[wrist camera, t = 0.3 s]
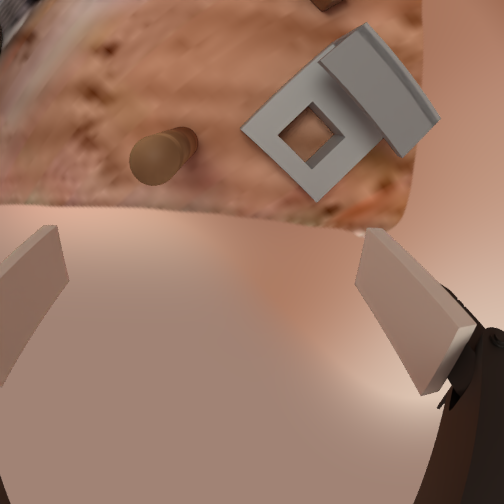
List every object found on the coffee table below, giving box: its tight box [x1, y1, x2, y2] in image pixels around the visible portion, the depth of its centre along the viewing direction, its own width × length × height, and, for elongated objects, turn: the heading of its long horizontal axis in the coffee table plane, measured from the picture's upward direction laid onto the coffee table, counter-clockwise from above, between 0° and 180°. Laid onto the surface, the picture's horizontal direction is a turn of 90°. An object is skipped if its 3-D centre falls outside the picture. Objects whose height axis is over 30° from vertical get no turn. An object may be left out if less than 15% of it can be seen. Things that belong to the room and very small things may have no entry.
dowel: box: [129, 127, 198, 186], centre depth 29 cm, size 4×4×14 cm
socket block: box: [240, 22, 441, 202], centre depth 29 cm, size 12×16×11 cm
